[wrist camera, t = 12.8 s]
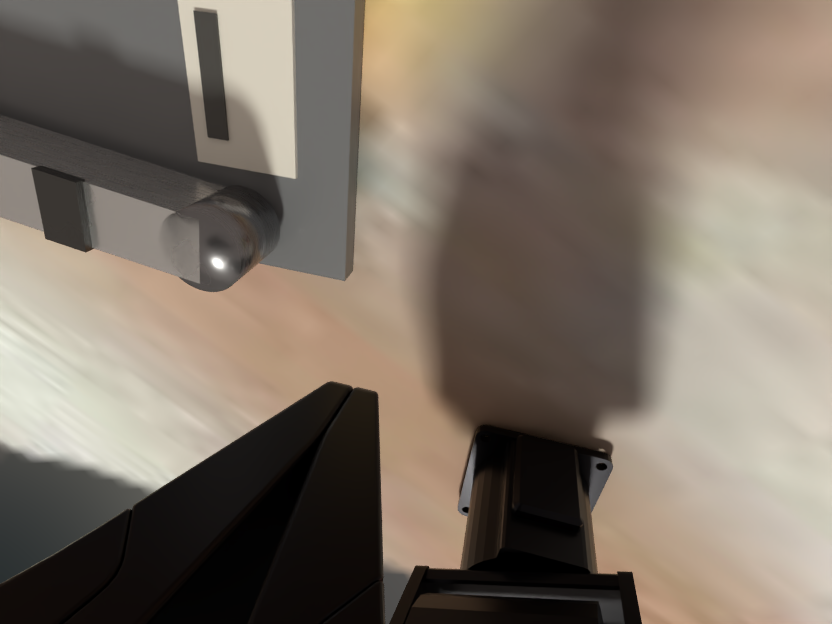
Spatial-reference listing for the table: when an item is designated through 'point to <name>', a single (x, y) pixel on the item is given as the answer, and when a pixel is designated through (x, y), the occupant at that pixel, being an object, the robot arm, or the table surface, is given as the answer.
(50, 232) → the cable arm
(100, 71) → the equipment panel
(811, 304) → the table surface
